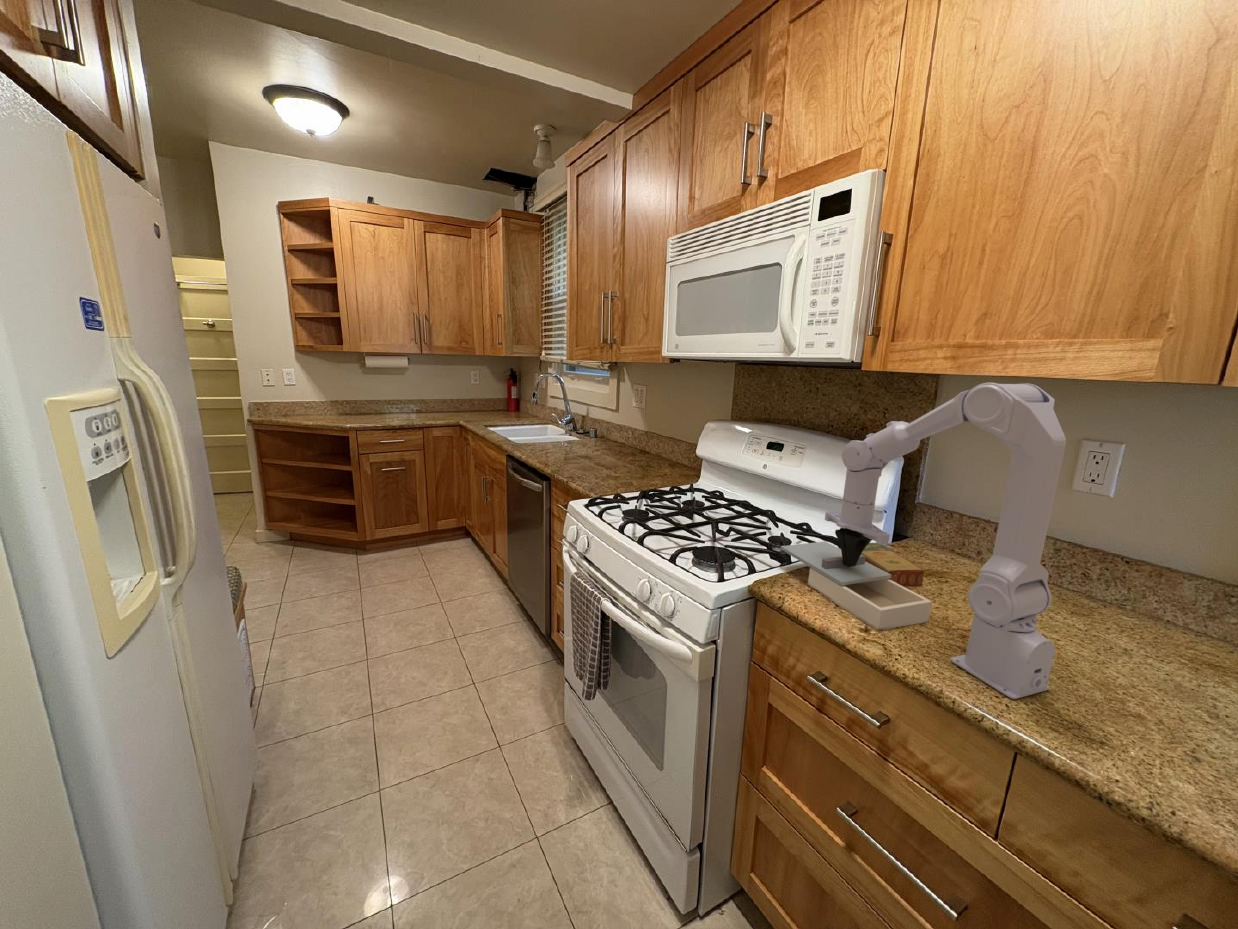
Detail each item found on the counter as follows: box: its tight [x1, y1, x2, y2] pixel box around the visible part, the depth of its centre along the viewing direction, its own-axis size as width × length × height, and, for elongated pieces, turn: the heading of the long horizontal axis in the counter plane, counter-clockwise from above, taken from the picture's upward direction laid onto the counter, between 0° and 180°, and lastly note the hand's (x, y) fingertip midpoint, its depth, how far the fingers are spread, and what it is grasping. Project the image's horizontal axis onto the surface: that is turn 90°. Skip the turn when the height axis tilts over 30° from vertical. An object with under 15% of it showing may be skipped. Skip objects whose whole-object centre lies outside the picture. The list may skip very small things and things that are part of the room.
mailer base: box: [807, 567, 933, 632], centre depth 94 cm, size 18×12×4 cm, turn 19°
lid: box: [780, 541, 892, 586], centre depth 102 cm, size 18×12×2 cm
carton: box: [861, 542, 925, 588], centre depth 110 cm, size 8×16×4 cm, turn 5°
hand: (849, 565), depth 98 cm, fingers closed
